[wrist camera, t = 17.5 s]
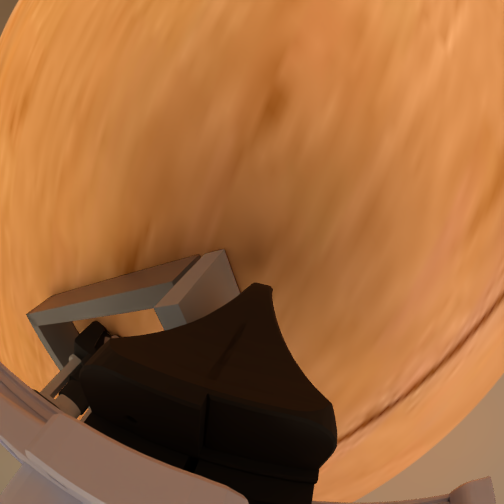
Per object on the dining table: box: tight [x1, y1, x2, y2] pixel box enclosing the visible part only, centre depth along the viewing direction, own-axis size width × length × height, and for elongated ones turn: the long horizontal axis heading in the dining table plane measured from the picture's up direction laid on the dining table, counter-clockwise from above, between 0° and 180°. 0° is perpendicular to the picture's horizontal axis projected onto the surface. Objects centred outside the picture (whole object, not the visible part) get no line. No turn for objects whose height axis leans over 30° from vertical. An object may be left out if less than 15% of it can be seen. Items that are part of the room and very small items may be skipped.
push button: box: [32, 321, 119, 422], centre depth 13 cm, size 7×5×10 cm
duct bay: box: [26, 255, 200, 408], centre depth 16 cm, size 11×14×3 cm
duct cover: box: [154, 249, 240, 330], centre depth 13 cm, size 12×1×5 cm, turn 18°
